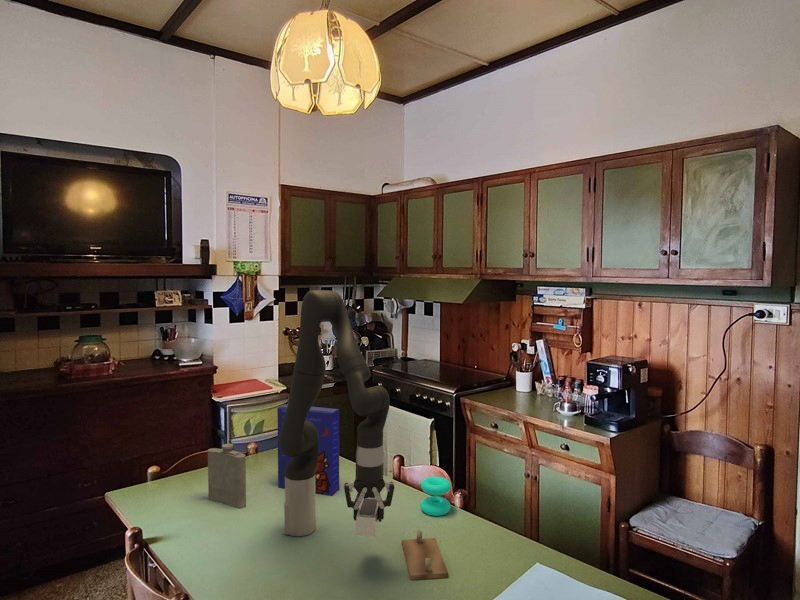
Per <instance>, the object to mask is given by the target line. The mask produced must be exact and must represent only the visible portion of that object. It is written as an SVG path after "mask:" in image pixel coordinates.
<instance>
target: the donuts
mask: <svg viewBox="0 0 800 600" xmlns="http://www.w3.org/2000/svg"><path fill="white" fill-rule="evenodd" d="M451 487H452V484H451V482H450V481H449V480H448V479H447V478H445V477H442V476H429V477H425V478H424V479H423V480H422V481H421V483H420V488H421V490H422V491H423V492H424V493H425V494H427V495H430V496H427V497H425V498H423V500H422V501H421V503H420V508H421V510H422V512H423V513H425V515H429V516H433V517H434V516H435V517H437V516H438V517H439V516H444V515H447V514H448V513H449V512H450V511H451V507H452V506H451V503H450V501H449V500H448V499H447V498H445V497H442V495H446V494H447V493H449V492H450V490H451V489H452V488H451Z"/></svg>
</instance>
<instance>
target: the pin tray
mask: <svg viewBox="0 0 800 600" xmlns="http://www.w3.org/2000/svg"><path fill="white" fill-rule="evenodd" d="M401 547H402V551H403V554H404V560H405V563H406V568H407V571H408V576H409V580H410V581H411V580H412V581H415V580H427V579H428V580H430V579H444V578H445V579H446V578H449V572H448V569H447V566H446V563H445V561H444V558H443V555H442V553H441V550H440V547H439V544H438V542H437V539H436V537H431V538H430V537H427V538H423V530H417V531H416V538H414V539H410V538H409V539H401Z"/></svg>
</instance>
